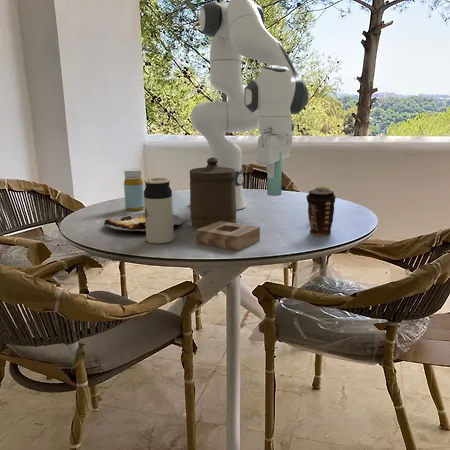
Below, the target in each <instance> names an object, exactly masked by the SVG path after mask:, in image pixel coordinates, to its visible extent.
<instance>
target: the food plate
mask: <svg viewBox="0 0 450 450" xmlns="http://www.w3.org/2000/svg"><path fill="white" fill-rule="evenodd" d="M182 222H183V220H182V217H180V216H179V215H178V214H173V226H175V225H181V224H182ZM103 225H104V227H107V228H110V229H112V230H115V231H124V232H129V233H131V232H139V233H140V232H146V222H145V212H138V213H137V212H135V213H134V212H133V213H131V212H129V213H124V214H120V215H117V216H114V217H110V218H107V219H105V220H104V223H103Z"/></svg>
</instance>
